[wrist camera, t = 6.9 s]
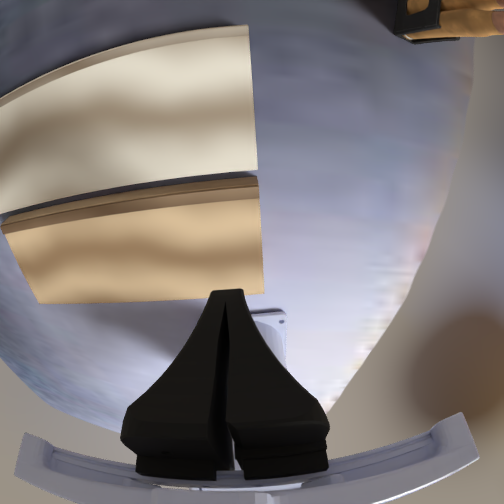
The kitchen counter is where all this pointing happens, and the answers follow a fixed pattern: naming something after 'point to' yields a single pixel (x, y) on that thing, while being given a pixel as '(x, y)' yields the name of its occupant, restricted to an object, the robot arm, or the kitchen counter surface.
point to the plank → (130, 118)
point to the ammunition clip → (447, 19)
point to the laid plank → (143, 244)
